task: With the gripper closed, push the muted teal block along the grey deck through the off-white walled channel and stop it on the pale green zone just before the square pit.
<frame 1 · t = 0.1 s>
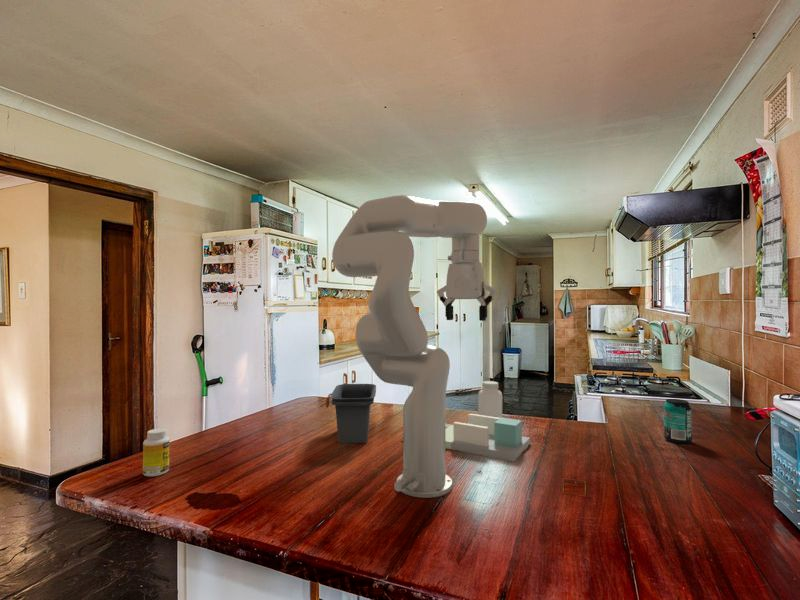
hand: (465, 320, 113), 37 cm above the countertop, tool pointing down, fingers open, 9 cm apart
supplement bottle: (156, 473, 99), on the countertop
pill bottle: (490, 427, 138), on the countertop
deck: (465, 442, 122), on the countertop
storage bin: (351, 436, 129), on the countertop
teal block: (508, 442, 115), point 2 cm above the countertop, touching deck
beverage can: (677, 441, 123), on the countertop
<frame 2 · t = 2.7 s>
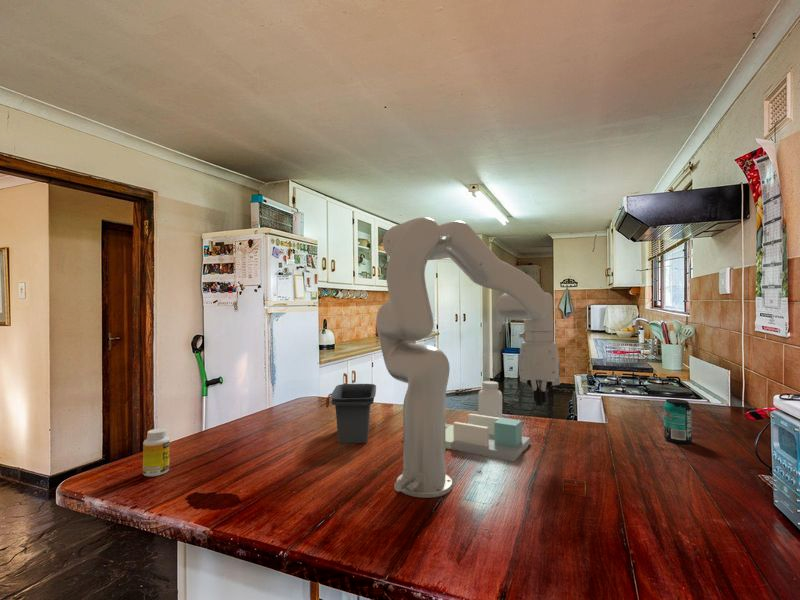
hand: (540, 404, 111), 14 cm above the countertop, tool pointing down, fingers closed
nothing on the countertop moved.
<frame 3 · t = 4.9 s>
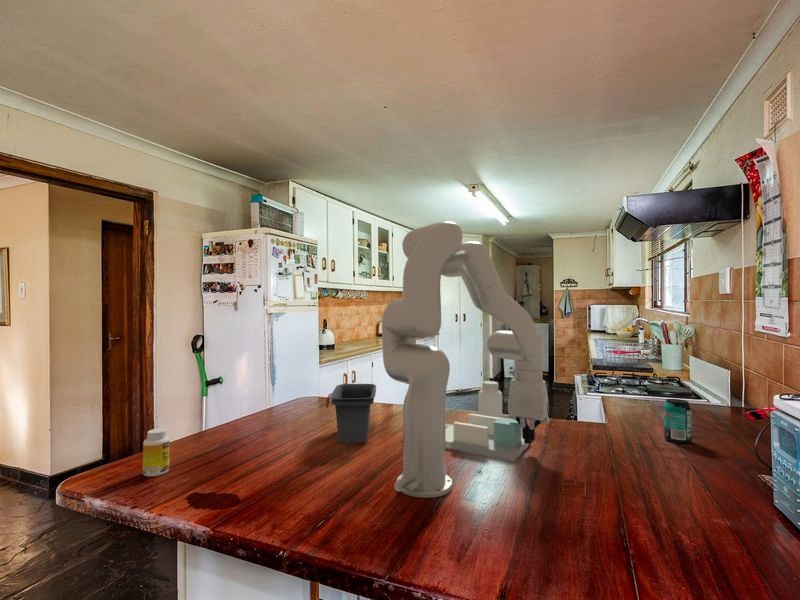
hand: (528, 442, 112), 3 cm above the countertop, tool pointing down, fingers closed
teal block: (507, 442, 115), point 2 cm above the countertop, touching deck, gripper
everything else where it was.
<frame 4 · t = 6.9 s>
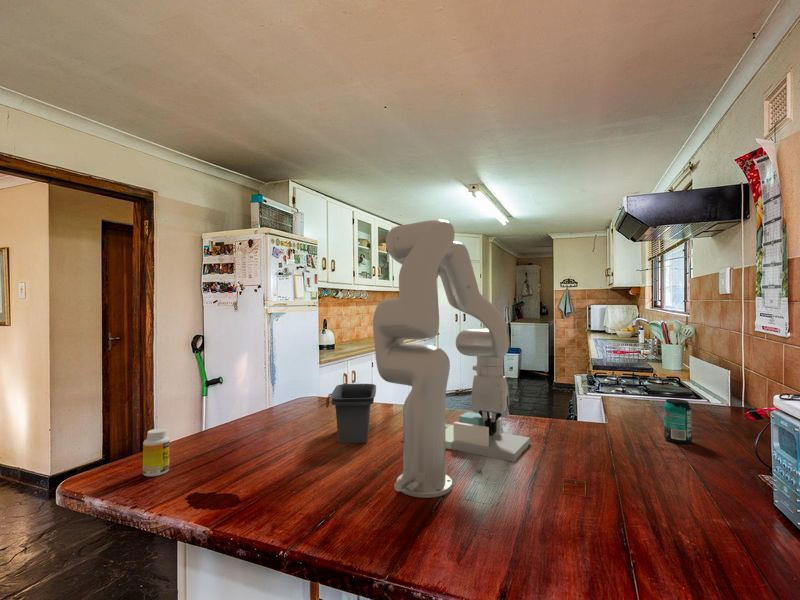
hand: (490, 434, 119), 3 cm above the countertop, tool pointing down, fingers closed
teal block: (472, 435, 122), point 2 cm above the countertop, touching deck, gripper
everything else where it was.
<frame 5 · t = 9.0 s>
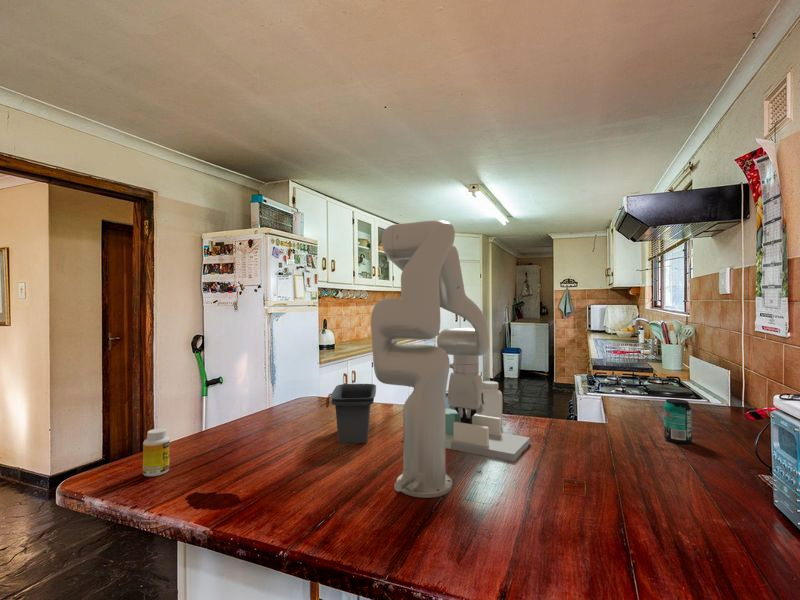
hand: (466, 430, 122), 3 cm above the countertop, tool pointing down, fingers closed
teal block: (450, 431, 126), point 2 cm above the countertop, touching deck, gripper
everything else where it was.
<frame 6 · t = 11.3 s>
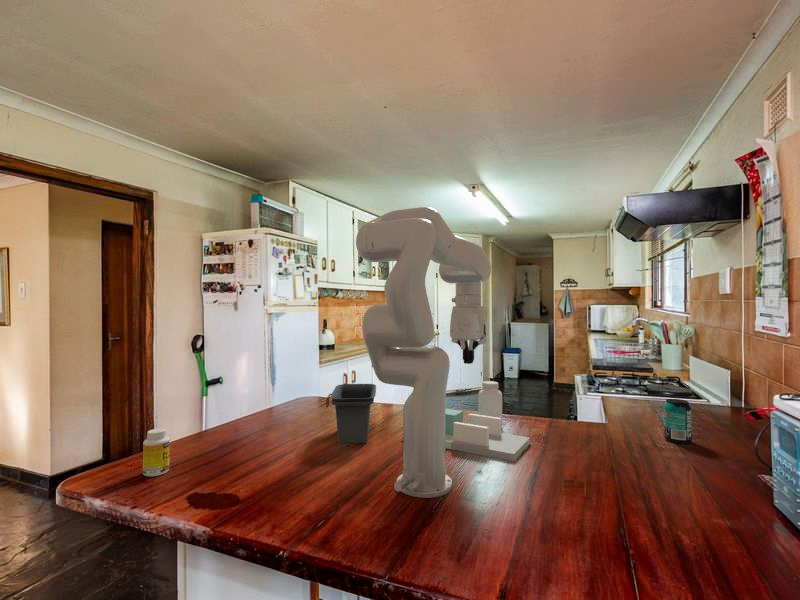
hand: (468, 363, 122), 24 cm above the countertop, tool pointing down, fingers closed
teal block: (450, 431, 126), point 2 cm above the countertop, touching deck
everything else where it was.
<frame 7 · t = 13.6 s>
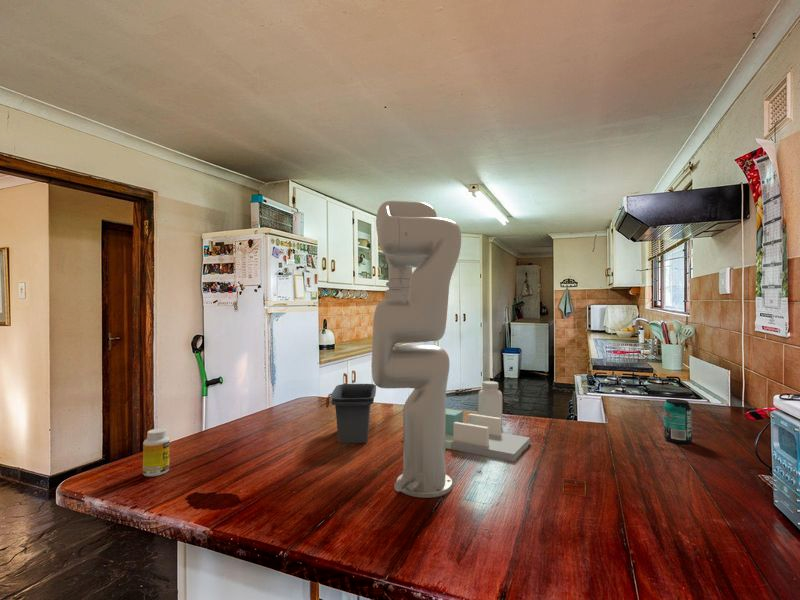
hand: (400, 342, 131), 29 cm above the countertop, tool pointing down, fingers closed
nothing on the countertop moved.
at the end: teal block inside the target area on the deck (1.9 cm from its centre), point 2.0 cm above the deck's base; teal block tilted 0° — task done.
